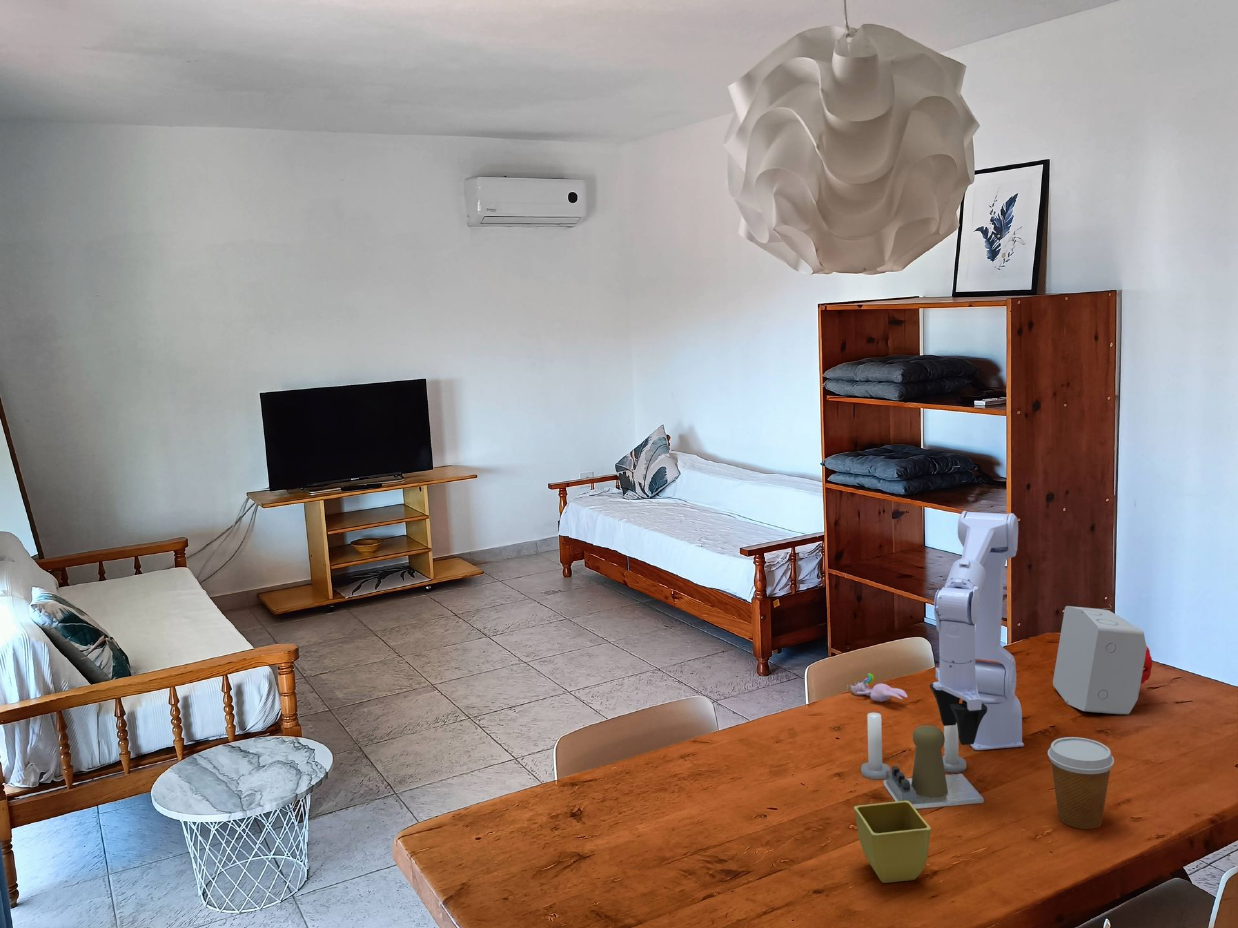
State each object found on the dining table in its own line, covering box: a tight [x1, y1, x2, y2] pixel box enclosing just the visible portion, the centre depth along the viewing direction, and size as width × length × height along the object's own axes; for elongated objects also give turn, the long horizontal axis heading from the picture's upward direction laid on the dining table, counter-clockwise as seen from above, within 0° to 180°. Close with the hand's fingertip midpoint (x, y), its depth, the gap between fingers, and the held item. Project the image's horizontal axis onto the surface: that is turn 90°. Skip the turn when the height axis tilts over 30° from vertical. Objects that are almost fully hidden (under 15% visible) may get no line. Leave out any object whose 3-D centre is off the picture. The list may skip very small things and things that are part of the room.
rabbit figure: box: [846, 672, 908, 703], centre depth 207 cm, size 6×6×15 cm
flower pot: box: [853, 801, 932, 884], centre depth 144 cm, size 9×9×9 cm
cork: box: [911, 724, 948, 797], centre depth 166 cm, size 6×6×11 cm
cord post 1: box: [860, 712, 891, 781], centre depth 174 cm, size 5×5×11 cm
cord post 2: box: [942, 722, 967, 774], centre depth 175 cm, size 5×5×11 cm
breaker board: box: [883, 765, 984, 810], centre depth 166 cm, size 14×9×4 cm, turn 93°
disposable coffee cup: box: [1047, 736, 1115, 830], centre depth 155 cm, size 10×10×12 cm
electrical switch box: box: [1052, 605, 1153, 715], centre depth 198 cm, size 15×15×20 cm
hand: (958, 733), depth 165 cm, fingers open, 7 cm apart
